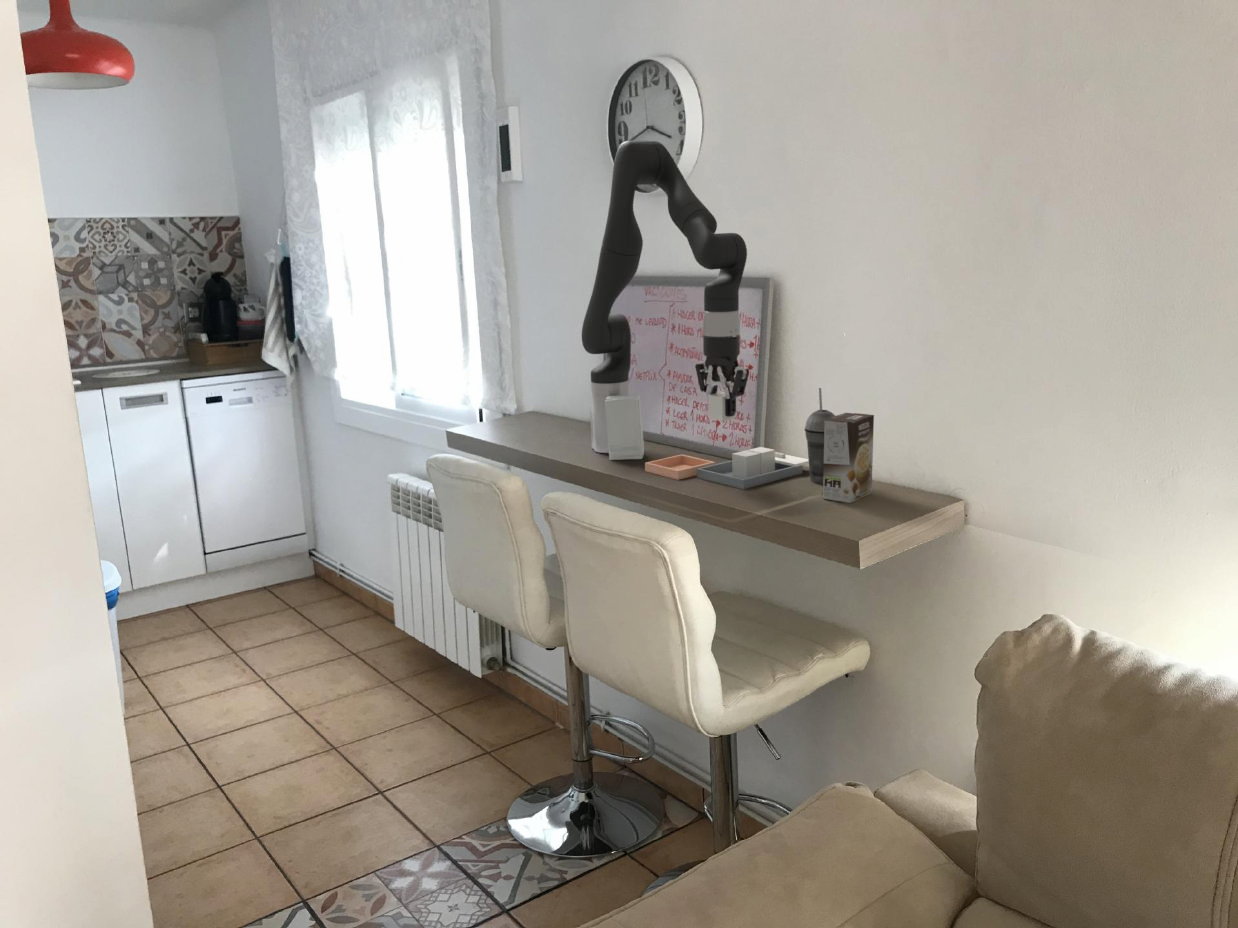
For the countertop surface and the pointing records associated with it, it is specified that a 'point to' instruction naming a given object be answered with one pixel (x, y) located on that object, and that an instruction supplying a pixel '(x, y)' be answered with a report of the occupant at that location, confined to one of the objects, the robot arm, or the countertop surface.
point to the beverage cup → (816, 441)
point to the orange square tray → (677, 466)
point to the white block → (718, 407)
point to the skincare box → (624, 427)
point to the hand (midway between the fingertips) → (721, 414)
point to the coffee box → (848, 457)
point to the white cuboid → (745, 464)
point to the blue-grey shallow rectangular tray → (723, 475)
